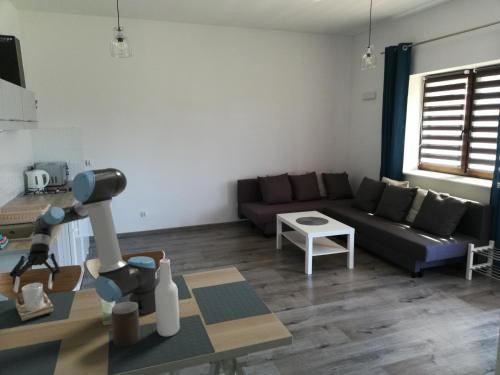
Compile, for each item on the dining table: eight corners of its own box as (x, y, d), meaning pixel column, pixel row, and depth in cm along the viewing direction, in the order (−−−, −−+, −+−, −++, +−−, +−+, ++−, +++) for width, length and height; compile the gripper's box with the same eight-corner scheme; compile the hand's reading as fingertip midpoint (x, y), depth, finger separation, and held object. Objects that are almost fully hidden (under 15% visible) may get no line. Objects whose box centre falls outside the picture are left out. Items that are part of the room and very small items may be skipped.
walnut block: (31, 302, 165) (30, 293, 164) (21, 305, 162) (20, 297, 161) (28, 299, 167) (27, 291, 166) (18, 302, 164) (17, 294, 163)
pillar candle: (125, 350, 134) (122, 313, 131) (108, 342, 139) (105, 306, 136) (145, 337, 142) (143, 302, 139) (128, 330, 147) (126, 295, 144)
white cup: (35, 313, 155) (32, 291, 153) (20, 311, 156) (17, 289, 155) (49, 304, 162) (46, 283, 161) (34, 302, 164) (31, 281, 162)
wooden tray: (54, 314, 160) (53, 305, 159) (22, 324, 152) (21, 315, 151) (45, 299, 173) (44, 291, 172) (15, 307, 166) (14, 299, 165)
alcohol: (174, 338, 141) (170, 265, 135) (153, 336, 142) (148, 264, 137) (182, 325, 149) (179, 256, 144) (162, 324, 151) (158, 255, 146)
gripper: (71, 247, 175) (66, 289, 164) (13, 251, 170) (4, 296, 158) (67, 240, 169) (61, 283, 158) (7, 244, 164) (-4, 290, 152)
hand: (32, 290), depth 158 cm, fingers open, 13 cm apart
